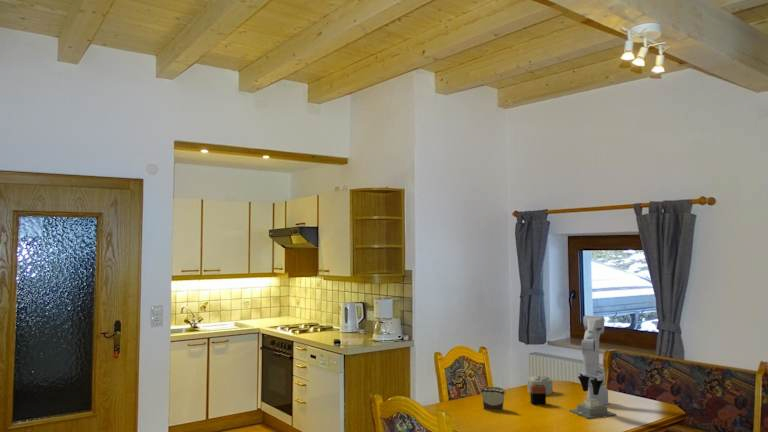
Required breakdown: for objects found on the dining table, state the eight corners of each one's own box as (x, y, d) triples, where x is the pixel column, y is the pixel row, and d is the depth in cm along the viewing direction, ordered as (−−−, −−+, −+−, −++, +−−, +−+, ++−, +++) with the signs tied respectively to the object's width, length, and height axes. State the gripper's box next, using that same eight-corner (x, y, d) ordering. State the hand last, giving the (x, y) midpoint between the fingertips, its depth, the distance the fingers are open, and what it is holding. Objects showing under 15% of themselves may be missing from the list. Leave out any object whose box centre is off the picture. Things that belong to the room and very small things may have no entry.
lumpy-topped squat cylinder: (525, 391, 322) (525, 375, 322) (547, 389, 324) (547, 374, 325) (534, 395, 311) (533, 379, 312) (556, 394, 314) (555, 377, 314)
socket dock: (596, 407, 285) (596, 400, 285) (616, 415, 272) (616, 407, 272) (569, 411, 280) (568, 403, 280) (587, 418, 267) (587, 410, 267)
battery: (546, 404, 292) (545, 384, 293) (532, 405, 292) (532, 385, 292) (543, 402, 296) (542, 382, 297) (530, 402, 296) (529, 383, 297)
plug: (593, 410, 279) (593, 397, 279) (599, 412, 275) (598, 399, 275) (585, 411, 277) (584, 398, 277) (590, 413, 273) (590, 400, 274)
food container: (508, 408, 286) (508, 387, 287) (505, 411, 281) (505, 390, 281) (484, 405, 291) (483, 385, 292) (480, 408, 286) (480, 388, 286)
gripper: (573, 362, 283) (574, 390, 283) (592, 367, 270) (593, 397, 269) (585, 361, 286) (586, 389, 285) (605, 366, 272) (606, 395, 271)
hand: (590, 392), depth 277 cm, fingers open, 7 cm apart
